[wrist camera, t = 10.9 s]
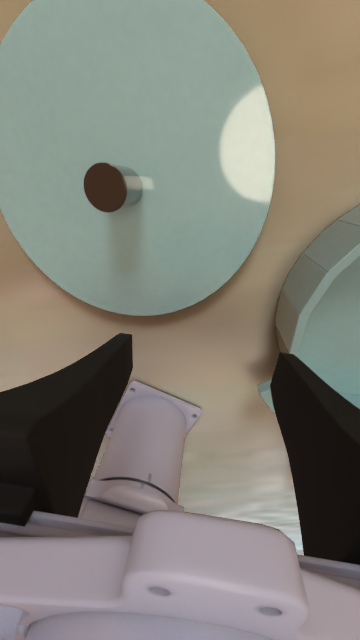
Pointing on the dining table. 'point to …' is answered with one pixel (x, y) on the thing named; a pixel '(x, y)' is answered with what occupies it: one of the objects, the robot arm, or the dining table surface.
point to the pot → (324, 309)
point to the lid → (133, 149)
